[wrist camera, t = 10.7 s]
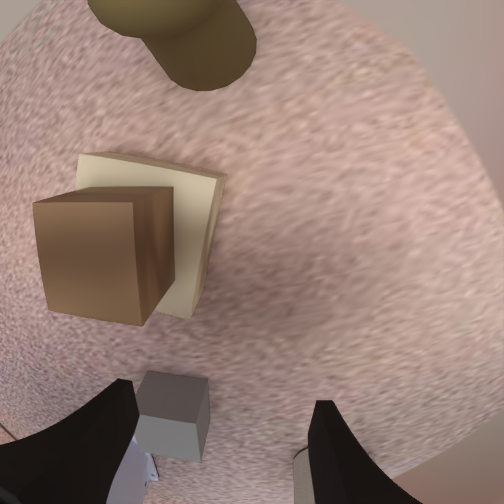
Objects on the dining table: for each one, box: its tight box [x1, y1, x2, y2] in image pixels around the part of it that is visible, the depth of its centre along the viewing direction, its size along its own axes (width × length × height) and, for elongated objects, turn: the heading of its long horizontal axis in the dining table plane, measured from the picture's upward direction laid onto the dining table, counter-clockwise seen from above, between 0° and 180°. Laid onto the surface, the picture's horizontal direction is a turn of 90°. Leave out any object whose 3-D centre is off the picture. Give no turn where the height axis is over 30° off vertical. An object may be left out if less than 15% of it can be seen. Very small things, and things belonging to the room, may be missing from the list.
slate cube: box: [134, 371, 210, 463], centre depth 22 cm, size 5×5×5 cm
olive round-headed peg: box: [88, 0, 256, 91], centre depth 11 cm, size 6×6×11 cm
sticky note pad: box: [75, 152, 227, 320], centre depth 18 cm, size 8×8×4 cm
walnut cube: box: [32, 186, 175, 326], centre depth 14 cm, size 5×5×5 cm
